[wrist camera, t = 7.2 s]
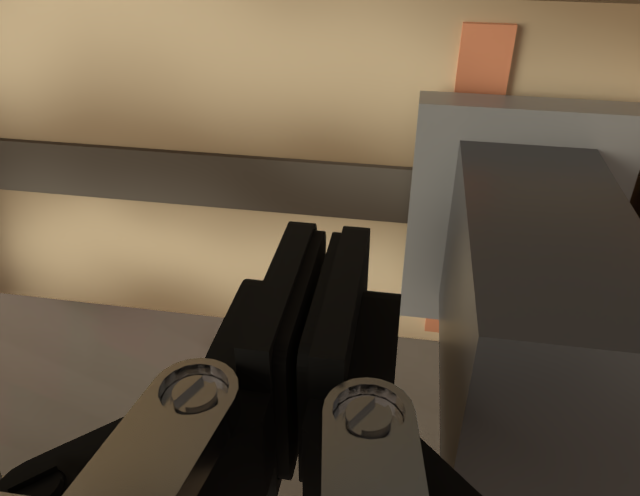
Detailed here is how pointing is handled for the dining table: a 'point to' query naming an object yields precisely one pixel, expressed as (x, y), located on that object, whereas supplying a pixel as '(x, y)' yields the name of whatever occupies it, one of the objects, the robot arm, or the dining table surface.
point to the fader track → (251, 129)
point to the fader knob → (530, 288)
